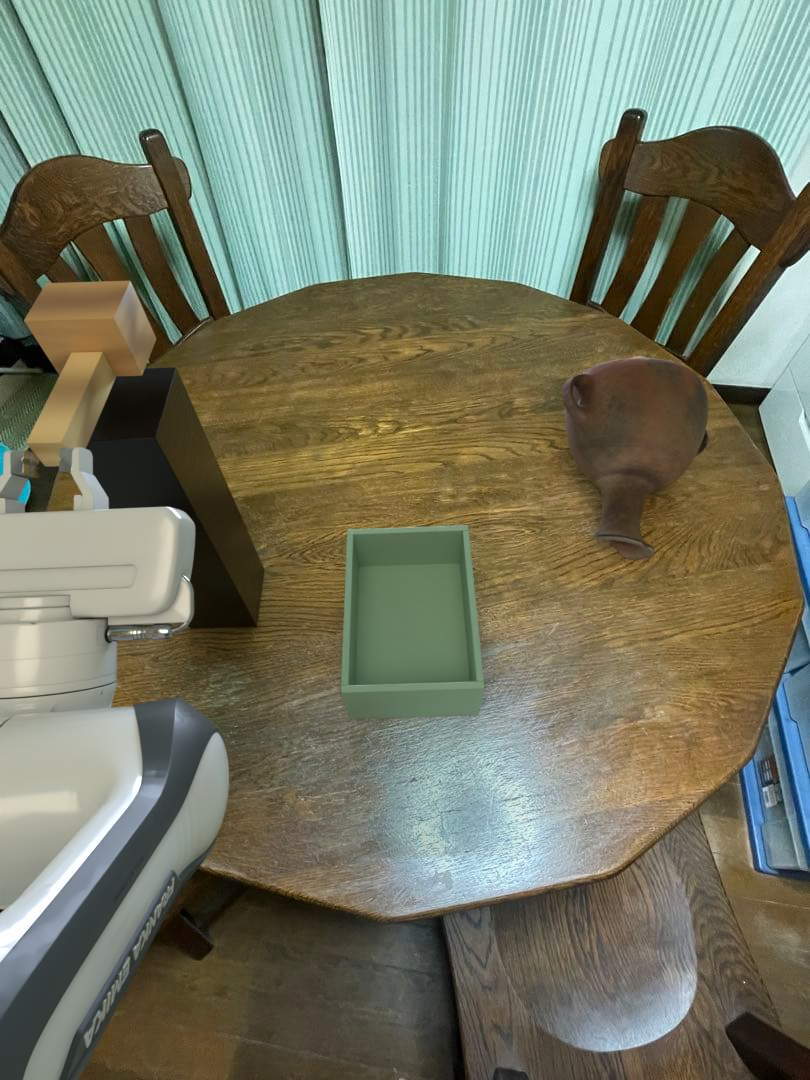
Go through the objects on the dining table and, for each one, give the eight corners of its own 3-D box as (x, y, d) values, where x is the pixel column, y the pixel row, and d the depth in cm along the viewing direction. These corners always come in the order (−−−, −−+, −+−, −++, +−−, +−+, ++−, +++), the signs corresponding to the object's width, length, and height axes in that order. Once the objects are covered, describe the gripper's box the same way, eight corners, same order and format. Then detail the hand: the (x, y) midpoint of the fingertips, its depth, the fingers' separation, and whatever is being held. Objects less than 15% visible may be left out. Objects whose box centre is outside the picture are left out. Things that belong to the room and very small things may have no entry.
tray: (478, 715, 71) (484, 688, 64) (349, 719, 72) (340, 692, 64) (464, 564, 84) (468, 525, 76) (354, 567, 84) (347, 529, 76)
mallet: (107, 465, 44) (70, 409, 39) (16, 467, 44) (-33, 411, 39) (157, 338, 52) (130, 280, 48) (79, 340, 53) (45, 282, 48)
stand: (257, 626, 79) (155, 438, 49) (190, 629, 79) (48, 442, 49) (264, 569, 84) (176, 366, 54) (201, 571, 84) (79, 370, 54)
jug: (575, 406, 100) (545, 565, 89) (572, 318, 84) (535, 499, 72) (707, 411, 93) (693, 584, 82) (732, 315, 76) (720, 517, 65)
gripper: (176, 642, 38) (174, 432, 39) (-136, 654, 38) (-130, 446, 39) (209, 634, 44) (207, 453, 45) (-59, 645, 45) (-55, 465, 46)
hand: (48, 450), depth 42 cm, fingers closed on mallet, 2 cm apart
